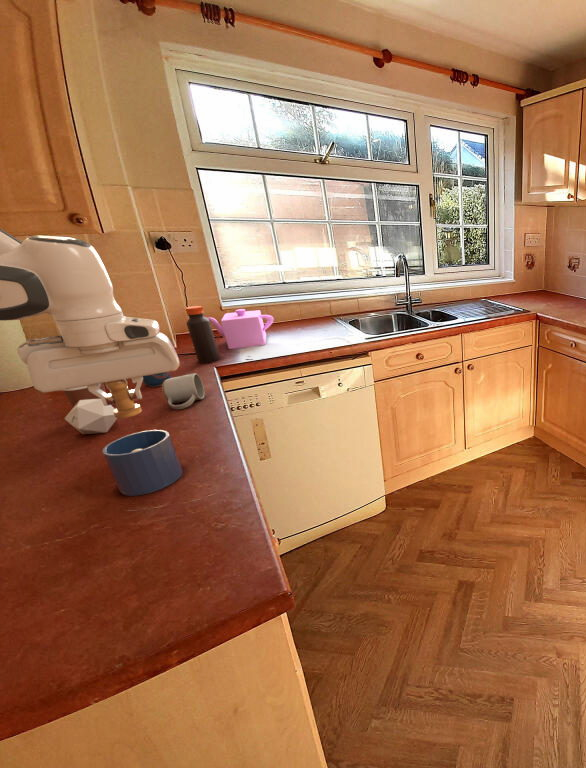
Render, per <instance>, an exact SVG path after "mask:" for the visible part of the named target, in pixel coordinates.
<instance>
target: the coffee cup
mask: <svg viewBox="0 0 586 768" xmlns="http://www.w3.org/2000/svg"><path fill="white" fill-rule="evenodd" d="M100 384H101V386H100V388H99V389H101V390H102V391H104V392H105V393H106V394H108V393H107V390H106V387H105V386H106V385H105V383H100ZM60 391H61V392H63V394H64V395H65V396H66V399H67V401H68V402H69V404H70V405H71V407H72V409H73V408H74V406H75V405H76V404H77V403H78V402H79V400H89V399H101V398H99V397H97V396H96V395H94V394H93V393H91V392H90V391H89V390H88V388H87V386H82V387H76V388H71V389H65V390H60Z"/></svg>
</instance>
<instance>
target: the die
mask: <svg viewBox="0 0 586 768" xmlns="http://www.w3.org/2000/svg"><path fill="white" fill-rule="evenodd" d="M115 409H116V407H114V406H113V405H107V406H104V404H103V402H102V400H101V399H89V400H79V402H78V403H77V404H76V405H75V406H74V408H73V407H72V408H71V410H70V411H69V412H68V413H67V414H66V416H65V417H64V420H65V421H66V422H67V423H68V424H70V425H71V427H73V428H74V429H75V430H77V431H78V432H79V433H80V434H81V435H92V434H104V433H108V431H109V430H110V429H111V428H112V426H114V424H115V422H116V421H117V419H118V418H116V417H115V415H114V413H113V410H115Z"/></svg>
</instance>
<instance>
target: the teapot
mask: <svg viewBox="0 0 586 768" xmlns="http://www.w3.org/2000/svg"><path fill="white" fill-rule="evenodd" d="M234 311H235V312H226V313H224V315H223V316H222V318H221V320H220V322H221V324H220V323H219V321H218V320H217V319H216V318H214V317H211V316H208V317H207V316H205V317H206V318H207V319H209V321H210V324H212V325H213V327H214V328H215V330H216V331H217V332H218V333H219V334H220V335H221V336H222V337H225V340H226V344H227V348H228V350H232V349H240V348H248V347H249V348H250V347H255V346H263V345H266V340H267V333H266V330H267V329H269V328H270V327H271V325H272V324H273V323H274V320H275V317H274V316H272V315H271V314H270V315H269V314H262V312H261V310H260V309H259V310H247V311H246V309H245V308H239V309H235V310H234ZM263 319H266V320H267V321H266V323H264V321H263Z"/></svg>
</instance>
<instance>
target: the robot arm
mask: <svg viewBox="0 0 586 768" xmlns="http://www.w3.org/2000/svg"><path fill="white" fill-rule="evenodd" d="M43 314H49V315H50V316H52V319H53V320H54V322H55V325H56V328H57V329H58V332H59V334H60V335H55V336H47V337H42V338H30V339H26V340H25V341H24V342H22V343H21V344H19V346H18V347H17V354H18V357H19V358H20V360H21V361H22V363H23V364H25V365H26V366H27V369H28V370H27V371H28V373H29V377H30V381H31V383H32V386H33V388H34V389H35V390H37V391H39V392H41V393H42V394H46V393H47V394H48V393H53V392H58V391H59V392H60V391H61V390H65V389H71V388H76V387H82V386H87V388H88V390H89V391H90V392H91V393H93V394H94V395H96V396H97V397H99V398H101V400H102V402H103V404H104V406H107V405H111V406H113V405H115V402H114V400H113V398H112V395H111V393H107V392H106V393H107V394H106V393H105V392H104V391H102V390H101V389H99V388H100V386H101V384H100V383H104V384H106V382H111V381H117V380H123V379H126V380H128V379H130V380H131V382H132V384H135V388H134V389H129V391H130V392H129V395H130V396H131V400H132V401H133V402H134V401H137V400H142V399H143V395H142V392H141V386H142V384H143V376H146V375H152V374H158V373H164V372H169V373H170V372H174V371H177V370H178V369H179V368H180V364H181V363H180V358H179V355H178V353H177V351H176V349H175V347H174V345H173V343H172V341H171V340H170V339H169V337H168V336H167V335H166V334H164V333H163V332H160V330H161V329H160V325H159V322H158V321H157V320H155V319H152V318H151V319H150V318H141V317H133V316H125V315H124V313H123V310H122V308H121V307H120V305H119V304H118V303H117V301H116V299H115V295H114V286H113V283H112V281H111V278H110V276H109V274H108V270H107V268H106V267H105V265H104V263H103V261H102V259H101V257H100V255H99V253H98V252H97V250H96V249H95V247H93V245H92V244H91V243H89V242H86V240H83V239H79V238H76V237H69V236H61V235H32V236H29V237H26V238H25V239H24V240H23V241H21V240H20V239H18V238H17V237H14V236H13V235H12V234H10V233H8V232H7V231H5V230H4V229H2V228H0V321H18V320H19V321H20V320H24V319H28V318H31V317H36V316H40V315H43Z"/></svg>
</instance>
